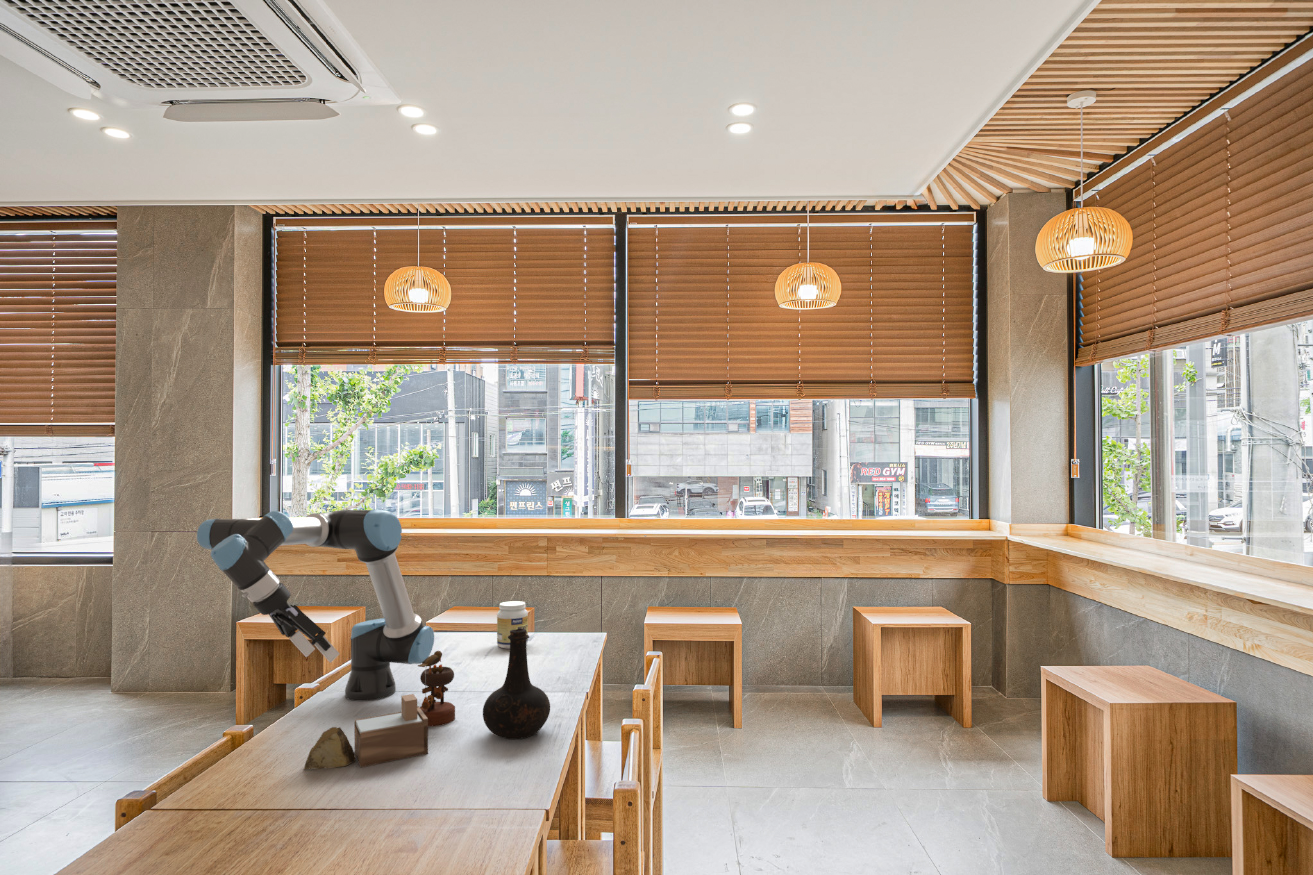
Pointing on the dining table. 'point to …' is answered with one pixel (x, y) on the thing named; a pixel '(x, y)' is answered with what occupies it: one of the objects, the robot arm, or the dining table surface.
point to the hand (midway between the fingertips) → (322, 655)
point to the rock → (330, 751)
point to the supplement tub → (510, 621)
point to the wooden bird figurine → (436, 691)
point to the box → (391, 742)
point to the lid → (393, 716)
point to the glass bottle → (516, 697)
